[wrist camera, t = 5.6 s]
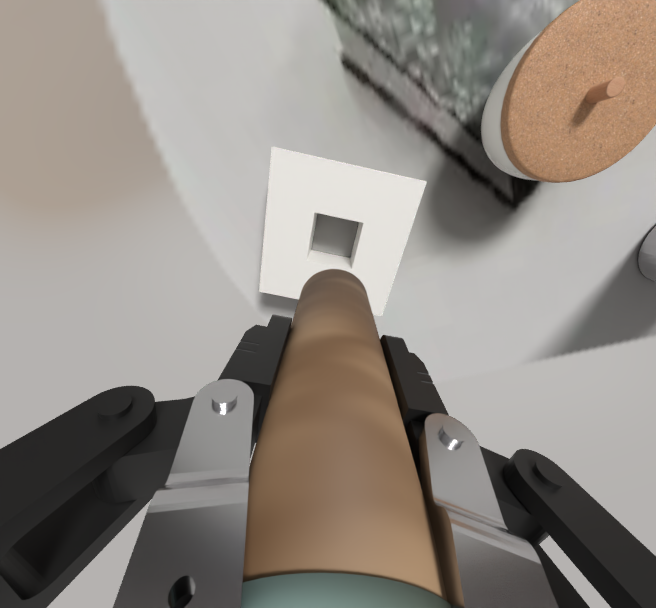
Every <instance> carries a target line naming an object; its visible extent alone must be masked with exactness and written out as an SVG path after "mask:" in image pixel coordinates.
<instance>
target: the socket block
mask: <svg viewBox="0 0 656 608" xmlns="http://www.w3.org/2000/svg"><path fill="white" fill-rule="evenodd" d="M426 183H427V181H422V180H418V179H413V178H409V177H405V176H400V175H396V174H391V173H387V172H383V171H378V170H374V169H369V168H365V167H360V166H356V165H352V164H347V163H343V162H338V161H334V160H329V159H325V158H321V157H316V156H312V155H307V154H303V153H298V152H294V151H290V150H285V149H281V148H276V147H272V151H271V162H270V173H269V184H268V196H267V207H266V218H265V229H264V241H263V252H262V263H261V274H260V286H259V292H264V293H269V294H274V295H279V296H284V297H289V298H294V299H299V298H300V294H301V291H302V288H303V286H304V284H305V283H306V282H307V280H308V279H309V278H310V277H312V276H313V275H314V274H316V273H318V272H320V271H323V270H327V269H341V270H345V271H347V272H350V273H352V274H353V275H355V276H356V277H357V278H358V279H359V280H360V281H361V282H362V283H363V285H364V287H365V289H366V292H367V296H368V299H369V303H370V307H371V310H372V314H373V315H378V316H382V314H383V312H384V309H385V306H386V303H387V300H388V297H389V294H390V291H391V288H392V285H393V282H394V279H395V276H396V273H397V270H398V267H399V264H400V261H401V258H402V255H403V252H404V249H405V246H406V243H407V240H408V237H409V234H410V231H411V228H412V225H413V222H414V219H415V216H416V213H417V210H418V207H419V204H420V201H421V198H422V195H423V192H424V189H425V186H426ZM317 213H320V214H324V215H329V216H333V217H338V218H343V219H347V220H352V221H357V222H359V225H358V229H357V233H356V237H355V241H354V245H353V250H352V254H351V258H348V257H343V256H338V255H334V254H329V253H324V252H319V251H314V250H311V248H312V242H313V236H314V230H315V225H316V219H317Z"/></svg>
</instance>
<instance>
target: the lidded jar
mask: <svg viewBox="0 0 656 608" xmlns="http://www.w3.org/2000/svg"><path fill="white" fill-rule="evenodd" d="M655 124H656V0H580V1H578V2H577V3H575V4H574V5H572V6H571V7H569V8H568V9H566V10H565V11H564V12H563V13H561V14H560V15H559V16H558V17H557V18H556V19H554V20H553V21H552V22H551V23H550V24H549V25H548V26H547V27H546V28H545V29H544V30H542V31H541V32H540V33H539V34H538V35H536V36H535V37H534V38H533V39H532V40H531V41H529V42H528V43H527V44H526V45H525V46H524V47H523V48H522V49H521V50H520V51H519V53H518V54H517V55H516V56H515V57H514V58H513V59H512V60H511V61H510V63H509V64H508V65H507V67H506V68H505V69H504V71H503V72H502V73H501V75H500V76H499V78H498V79H497V81H496V83H495V84H494V86H493V88H492V90H491V92H490V95H489V97H488V99H487V102H486V105H485V108H484V112H483V116H482V122H481V136H482V143H483V146H484V149H485V151H486V153H487V155H488V157H489V159H490V160H491V161H492V162H493V164H494V165H495V166H496V167H498V168H499V169H500V170H502V171H504V172H505V173H507V174H509V175H512V176H515V177H518V178H522V179H527V180H537V181H543V182H552V183H559V182H571V181H576V180H581V179H584V178H587V177H589V176H592V175H595V174H597V173H599V172H601V171H603V170H605V169H607V168H608V167H610V166H611V165H613V164H614V163H616V162H617V161H619V160H620V159H621V158H623V157H624V156H625V155H626V154H628V153H629V152H630V151H631V150H633V149H634V148H635V147H636V146H637V145H638V144H639V143H640V142H641V141H642V140H643V139H644V137H645V136H646V135H647V134H648V133H649V132H650V130H651V129H652V128H653V127H654V126H655Z"/></svg>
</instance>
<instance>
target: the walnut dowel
mask: <svg viewBox="0 0 656 608" xmlns="http://www.w3.org/2000/svg"><path fill="white" fill-rule="evenodd" d="M241 608H451V605H450V603H448V602H447V597H446V592H445V587H444V583H443V578H442V573H441V568H440V563H439V558H438V553H437V549H436V544H435V540H434V535H433V531H432V527H431V523H430V519H429V515H428V511H427V507H426V503H425V500H424V496H423V492H422V489H421V485H420V482H419V478H418V475H417V471H416V467H415V464H414V460H413V457H412V453H411V450H410V446H409V442H408V439H407V435H406V432H405V428H404V425H403V421H402V417H401V414H400V410H399V407H398V403H397V400H396V396H395V392H394V389H393V385H392V382H391V378H390V375H389V371H388V367H387V364H386V360H385V357H384V353H383V349H382V346H381V342H380V339H379V335H378V332H377V328H376V324H375V321H374V317H373V314H372V310H371V307H370V303H369V299H368V296H367V292H366V289H365V287H364V285H363V283H362V282H361V281H360V280H359V279H358V278H357V277H356V276H355V275H353V274H352V273H350V272H347V271H345V270H341V269H327V270H323V271H320V272H318V273H316V274H314V275H313V276H312V277H310V278H309V279H308V280H307V282H306V283H305V284H304V286H303V288H302V291H301V294H300V298H299V301H298V304H297V308H296V311H295V315H294V318H293V321H292V325H291V329H290V333H289V336H288V340H287V343H286V346H285V350H284V353H283V357H282V360H281V364H280V367H279V370H278V374H277V377H276V381H275V384H274V387H273V391H272V394H271V398H270V401H269V405H268V407H267V410H266V413H265V416H264V419H263V423H262V426H261V429H260V433H259V436H258V440H257V443H256V447H255V450H254V453H253V457H252V460H251V463H250V467H249V489H248V505H247V521H246V536H245V551H244V567H243V582H242V597H241Z"/></svg>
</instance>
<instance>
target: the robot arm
mask: <svg viewBox="0 0 656 608" xmlns="http://www.w3.org/2000/svg"><path fill="white" fill-rule="evenodd" d="M638 263H639V268H640V270H641V272H642V274H643V275H644V276H645V277H647V278H649V279H651V280H653V281H656V226H655V227H654V228H653V229H652V231H651V232H650V233H649V234H648V236H647V237H646V239H645V241H644V242H643V244H642V247H641V249H640V252H639V257H638ZM291 323H292V318H289V317H284V316H278V315H272V317H271V319H270V322H269V324H268V326H267V327H265V326H260V325H255V326H254V327H252V328H251V329H249V330H247V331H246V332H245V334H244V336H243V338H242V339H241V342H240V343H239V344H238V346H237V348H236V350H235V351H234V353H233V355H232V356H231V358H230V360H229V362H228V363H227V365H226V367H225V369H224V370H223V372H222V374H221V375H220V377H219V379H218V380H217V381H214V382H212V383H209V384H208V385H206V386H204V387H203V388H202V389H201V390H200V391H199V392H198V393H197V394H196V396H194V397H191V398H187V399H180V400H170V401H161V402H155V399H154V396H153V394H152V393H151V392H150V391H149V390H147V389H145V388H143V387H139V386H122V387H117V388H113V389H110V390H107V391H104V392H102V393H100V394H98V395H96V396H94V397H92V398H91V399H88V400H87V401H85V402H83V403H81V404H80V405H78V406H76V407H74V408H72V409H71V410H69V411H67V412H65V413H64V414H62V415H60V416H58V417H56V418H55V419H53V420H51V421H49V422H48V423H46V424H44V425H43V426H41V427H39V428H37V429H35V430H34V431H32V432H30V433H28V434H26V435H25V436H23V437H21V438H19V439H17V440H16V441H14V442H12V443H11V444H9V445H7V446H5V447H3V448H2V449H0V608H46V607H47V606H48V605H49V604H50V603H51V602H52V601H53V600H54V599H55V598H56V597H57V596H58V595H59V594H60V593H61V592H62V591H63V590H64V589H65V588H66V587H67V586H68V585H69V584H70V583H71V582H72V580H74V578H75V577H76V576H77V575H78V574H79V573H80V572H81V571H82V570H83V569H84V568H85V567H86V566H87V565H88V564H89V563H90V562H91V561H92V560H93V559H94V558H95V557H96V556H97V555H98V554H99V553H100V551H102V550H103V548H104V547H105V546H106V545H107V544H108V543H109V542H110V541H111V540H112V539H113V538H114V537H115V536H116V535H117V534H118V533H119V532H120V531H121V530H122V529H123V528H124V527H125V526H126V525H127V524H128V523H129V522H130V521H131V520H132V519H133V518H134V516H135V515H136V514H137V513H138V512H139V511H140V510H141V509H142V508H143V507H144V506H145V505H146V504H147V503H148V502H149V501H150V500H151V499H152V500H151V502H150V505H149V507H148V510H147V513H146V515H145V518H144V521H143V524H142V527H141V529H140V532H139V535H138V538H137V541H136V544H135V546H134V549H133V552H132V555H131V558H130V560H129V563H128V566H127V569H126V572H125V575H124V577H123V580H122V584H121V586H120V589H119V592H118V594H117V597H116V600H115V603H114V606H113V608H241V597H242V582H243V567H244V551H245V536H246V521H247V505H248V489H249V464H250V458H251V454H252V451H253V447H254V444H255V443H257V440H258V436H259V433H260V429H261V426H262V423H263V419H264V416H265V413H266V410H267V407H268V405H269V401H270V398H271V394H272V391H273V387H274V384H275V381H276V377H277V374H278V370H279V367H280V364H281V360H282V357H283V353H284V350H285V346H286V343H287V340H288V336H289V333H290V329H291ZM380 342H381V346H382V349H383V353H384V357H385V360H386V364H387V367H388V371H389V375H390V378H391V382H392V385H393V389H394V392H395V396H396V400H397V403H398V407H399V410H400V414H401V417H402V421H403V425H404V428H405V432H406V435H407V439H408V442H409V446H410V450H411V453H412V457H413V460H414V464H415V467H416V471H417V475H418V478H419V482H420V485H421V489H422V492H423V496H424V500H425V503H426V507H427V511H428V515H429V519H430V523H431V527H432V531H433V535H434V540H435V544H436V549H437V553H438V558H439V563H440V568H441V573H442V578H443V583H444V587H445V592H446V597H447V602H448V603H450V605H451V608H590V607H589V606H588V605H587V604H586V602H585V601H584V600H583V599H582V597H581V596H580V595H579V594H578V593H577V591H576V590H575V589H574V587H573V586H572V585H571V584H570V582H569V581H568V580H567V579H566V577H565V576H564V575H563V574H562V573H561V571H560V570H559V569H558V568H557V566H556V565H555V564H554V563H553V561H552V560H551V559H550V558H549V557H548V555H547V554H546V553H545V552H544V551H543V549H542V548H541V546H540V545H539V544H540V543H541V542H542V541H543V540H545V539H546V538H547V537H548V536H549V535H550V536H551V538H552V539H553V540H554V541H555V542H556V543H557V544H558V546H559V547H560V548H561V549H562V550H563V551H564V553H565V554H566V555H567V556H568V557H569V558H570V560H571V561H572V562H573V563H574V564H575V566H576V567H577V568H578V569H579V570H580V571H581V572H582V574H583V575H584V576H585V577H586V578H587V580H588V581H589V582H590V583H591V584H592V586H593V587H594V588H595V589H596V590H597V591H598V592H599V593H600V595H601V596H602V597H603V598H604V600H605V601H606V602H607V603H608V604H609V605H610V607H611V608H656V556H655V555H654V554H653V553H651V552H650V551H649V550H648V549H647V548H646V547H645V546H644V545H643V544H642V543H641V542H640V541H639V540H637V539H636V538H635V537H634V536H633V535H632V534H631V533H630V532H629V531H628V530H627V529H626V528H625V527H624V526H622V525H621V524H620V523H619V522H618V521H617V520H616V519H615V518H614V517H613V516H612V515H611V514H610V513H609V512H607V511H606V510H605V509H604V508H603V507H602V506H601V505H600V504H599V503H598V502H597V501H596V500H594V499H593V498H592V497H591V496H590V495H589V494H588V493H587V492H586V491H585V490H584V489H583V488H582V487H581V486H579V484H577V483H576V482H575V481H574V480H573V479H572V478H571V477H570V476H569V475H568V474H567V473H566V472H565V471H563V470H562V469H561V468H560V467H559V466H558V465H557V464H555V463H554V462H553V461H551V460H550V459H548V458H547V457H545V456H543V455H541V454H539V453H537V452H534V451H532V450H528V449H520V450H517V451H516V452H515V454H514V455H513V456H512V457H511V458H510V459H508V458H506V457H504V456H502V455H499V454H497V453H494V452H492V451H490V450H488V449H485V448H483V447H481V446H479V444H478V441H477V439H476V438H475V436H474V435H473V434H472V432H471V431H470V430H469V429H468V428H467V427H466V426H465V425H464V424H462V423H461V422H460V421H458V420H456V419H455V418H453V417H451V416H449V415H448V413H447V411H446V408H445V406H444V404H443V402H442V400H441V398H440V396H439V394H438V392H437V390H436V388H435V386H434V384H433V381H432V379H431V377H430V375H428V374H429V373H428V371H427V369H426V367H425V365H424V363H423V362H422V361H421V360H420V359H419V358H418V357H417V356H416V355H415V354H414V353H409V351H408V349H407V347H406V344H405V342H404V340H403V339H402V338H398V337H392V336H387V335H383V336H382V337H381V339H380Z"/></svg>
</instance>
